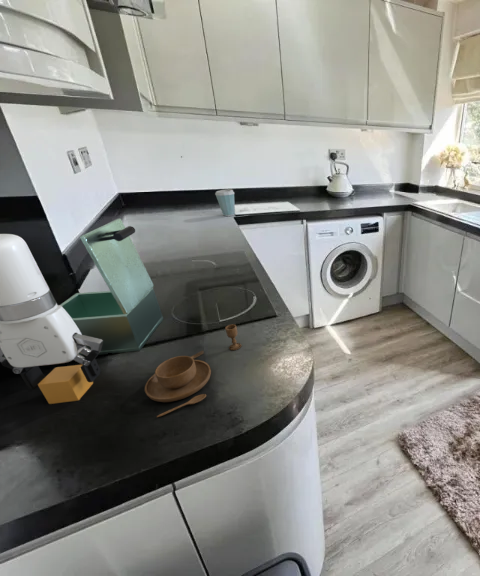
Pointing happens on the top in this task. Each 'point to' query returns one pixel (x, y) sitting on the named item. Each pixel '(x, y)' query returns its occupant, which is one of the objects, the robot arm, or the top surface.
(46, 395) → the block
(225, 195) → the disposable coffee cup
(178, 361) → the place setting
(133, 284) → the freezer lid
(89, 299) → the box
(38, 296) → the robot arm
